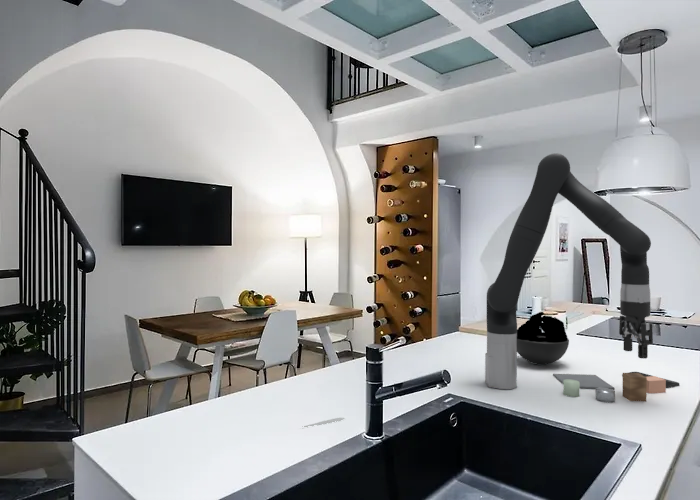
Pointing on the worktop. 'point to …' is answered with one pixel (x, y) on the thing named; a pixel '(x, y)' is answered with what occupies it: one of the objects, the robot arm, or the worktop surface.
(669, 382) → the phone
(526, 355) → the coal bowl
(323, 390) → the worktop surface
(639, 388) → the walnut block
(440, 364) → the worktop surface
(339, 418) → the butter knife
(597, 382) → the charcoal mat
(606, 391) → the grey metal puck
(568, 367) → the worktop surface
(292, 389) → the worktop surface
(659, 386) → the terracotta brick
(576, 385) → the sage cylinder
